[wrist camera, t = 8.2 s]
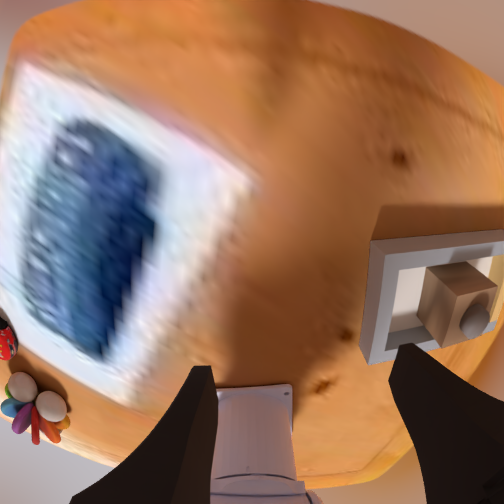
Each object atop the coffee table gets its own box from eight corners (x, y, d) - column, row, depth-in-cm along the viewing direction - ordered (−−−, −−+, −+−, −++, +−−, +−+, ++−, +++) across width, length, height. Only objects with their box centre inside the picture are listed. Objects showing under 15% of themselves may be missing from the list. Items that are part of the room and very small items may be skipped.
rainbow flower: (71, 426, 29) (55, 466, 22) (15, 390, 27) (-7, 425, 20) (77, 400, 26) (56, 447, 20) (12, 357, 24) (-16, 396, 17)
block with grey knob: (455, 306, 21) (488, 342, 16) (416, 315, 22) (447, 356, 16) (465, 261, 20) (506, 292, 15) (425, 267, 20) (465, 303, 15)
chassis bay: (480, 316, 23) (493, 330, 20) (358, 345, 23) (368, 365, 21) (502, 229, 19) (519, 238, 17) (370, 240, 19) (385, 254, 17)
